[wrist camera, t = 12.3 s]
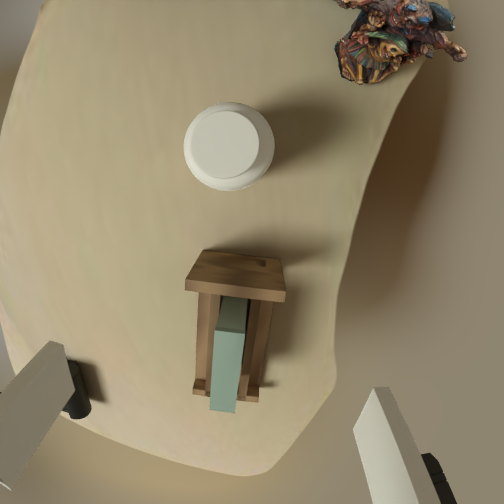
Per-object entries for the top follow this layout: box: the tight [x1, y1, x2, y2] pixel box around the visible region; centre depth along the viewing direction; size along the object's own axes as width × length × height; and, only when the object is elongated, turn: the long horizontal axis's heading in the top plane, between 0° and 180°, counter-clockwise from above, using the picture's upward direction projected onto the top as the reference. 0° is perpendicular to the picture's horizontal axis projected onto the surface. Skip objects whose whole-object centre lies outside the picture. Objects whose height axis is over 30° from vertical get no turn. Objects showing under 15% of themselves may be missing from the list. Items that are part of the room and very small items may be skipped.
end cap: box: [62, 360, 91, 419], centre depth 44 cm, size 10×7×7 cm
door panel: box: [210, 296, 248, 413], centre depth 37 cm, size 3×12×10 cm, turn 173°
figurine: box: [335, 0, 468, 85], centre depth 23 cm, size 11×9×18 cm
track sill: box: [185, 250, 286, 402], centre depth 38 cm, size 10×22×10 cm, turn 173°
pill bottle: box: [184, 102, 275, 191], centre depth 28 cm, size 8×8×15 cm
